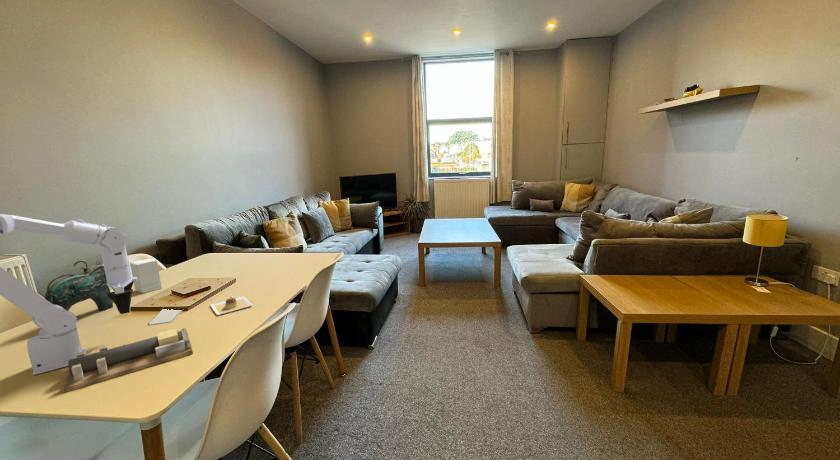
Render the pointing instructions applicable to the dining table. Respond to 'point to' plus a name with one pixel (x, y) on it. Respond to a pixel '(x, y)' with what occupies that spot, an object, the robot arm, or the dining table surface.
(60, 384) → the dining table surface
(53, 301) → the dark green irregular piece
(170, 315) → the smartphone
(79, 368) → the board
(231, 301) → the dessert
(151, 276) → the supplement box
